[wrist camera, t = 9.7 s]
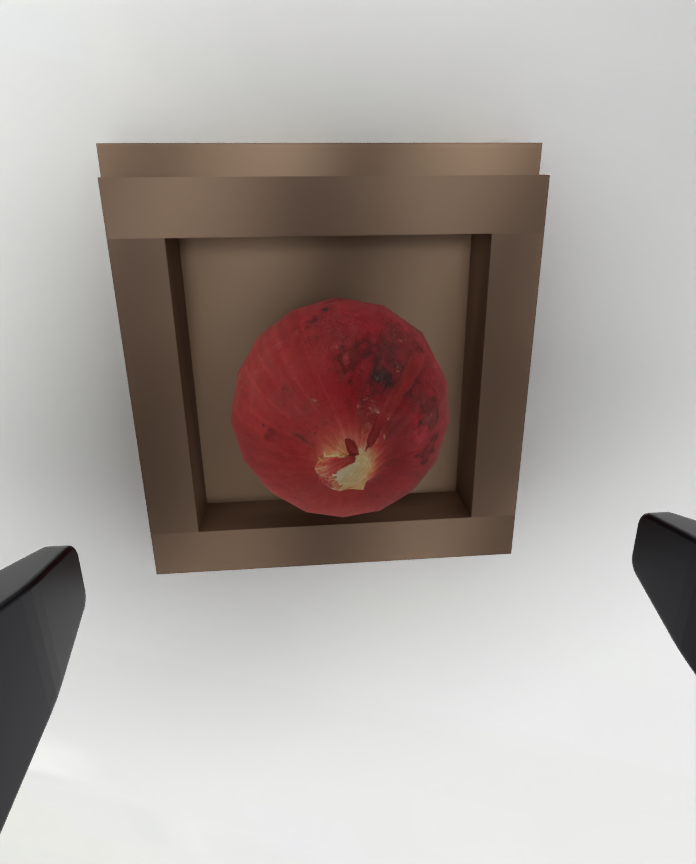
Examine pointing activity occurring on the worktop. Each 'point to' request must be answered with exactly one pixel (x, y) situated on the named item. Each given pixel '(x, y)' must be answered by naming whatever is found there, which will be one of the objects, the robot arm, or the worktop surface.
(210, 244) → the walnut holder
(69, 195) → the worktop surface
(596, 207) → the worktop surface
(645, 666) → the worktop surface
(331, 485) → the onion
